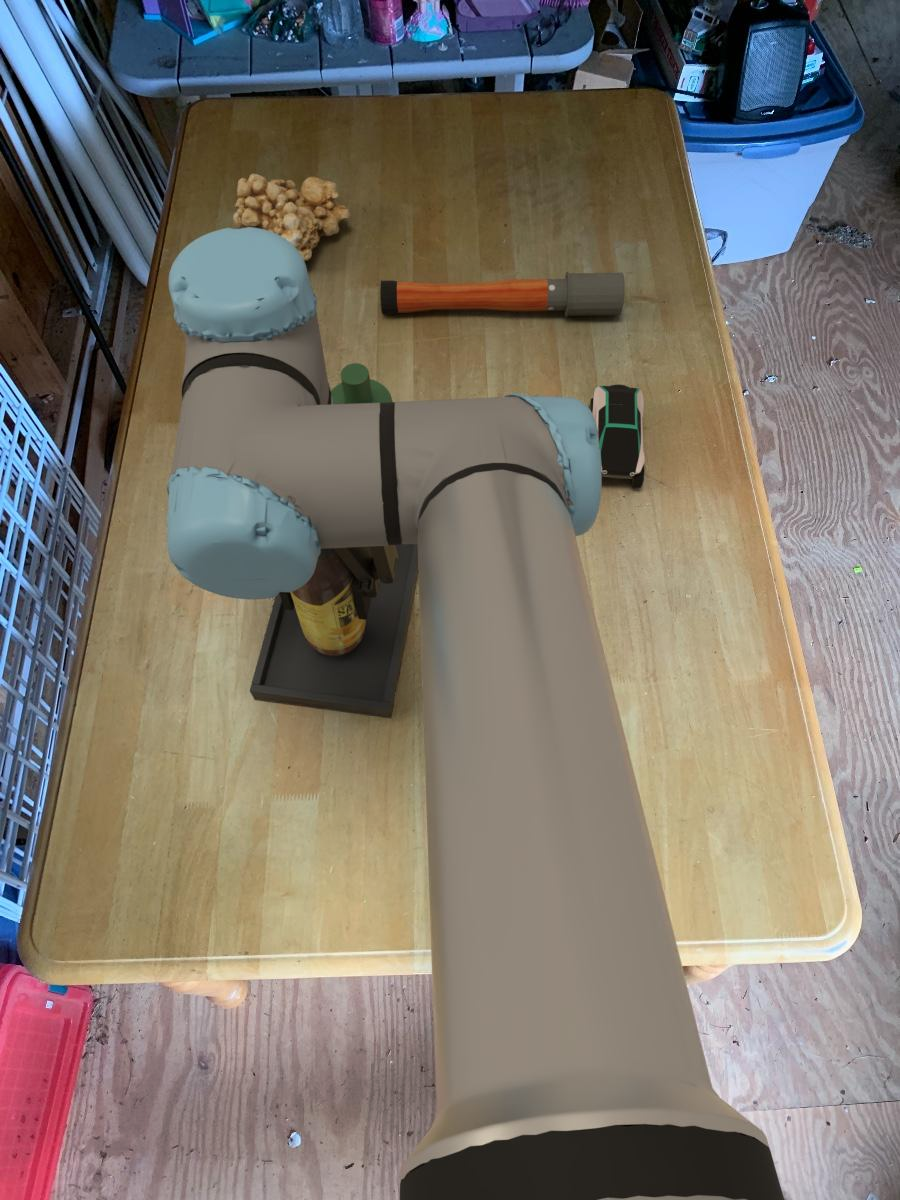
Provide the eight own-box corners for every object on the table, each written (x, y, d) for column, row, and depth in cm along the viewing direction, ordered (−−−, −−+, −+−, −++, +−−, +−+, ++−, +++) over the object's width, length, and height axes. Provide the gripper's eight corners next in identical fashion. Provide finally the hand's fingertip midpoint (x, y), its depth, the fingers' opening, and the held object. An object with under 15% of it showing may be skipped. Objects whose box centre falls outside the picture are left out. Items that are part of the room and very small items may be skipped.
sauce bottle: (360, 663, 81) (336, 558, 64) (297, 653, 82) (256, 547, 64) (373, 604, 84) (354, 489, 67) (313, 595, 85) (277, 479, 67)
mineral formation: (301, 285, 108) (208, 239, 111) (358, 240, 115) (270, 197, 118) (300, 228, 101) (201, 180, 104) (361, 184, 109) (267, 140, 111)
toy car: (638, 410, 98) (647, 378, 94) (639, 493, 93) (650, 464, 88) (588, 406, 99) (595, 374, 94) (586, 489, 93) (594, 460, 88)
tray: (391, 718, 80) (389, 710, 78) (254, 699, 81) (249, 691, 79) (438, 465, 95) (438, 452, 93) (321, 451, 96) (318, 438, 93)
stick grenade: (379, 307, 101) (627, 303, 100) (379, 266, 102) (626, 262, 101) (384, 327, 106) (619, 324, 106) (384, 288, 107) (618, 284, 106)
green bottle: (394, 515, 90) (382, 404, 74) (336, 508, 91) (312, 396, 75) (404, 468, 93) (395, 351, 77) (348, 462, 94) (327, 344, 78)
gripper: (432, 419, 58) (436, 579, 79) (166, 388, 60) (238, 554, 80) (414, 507, 55) (424, 651, 75) (133, 473, 56) (217, 624, 77)
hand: (328, 601), depth 78 cm, fingers closed on sauce bottle, 6 cm apart
